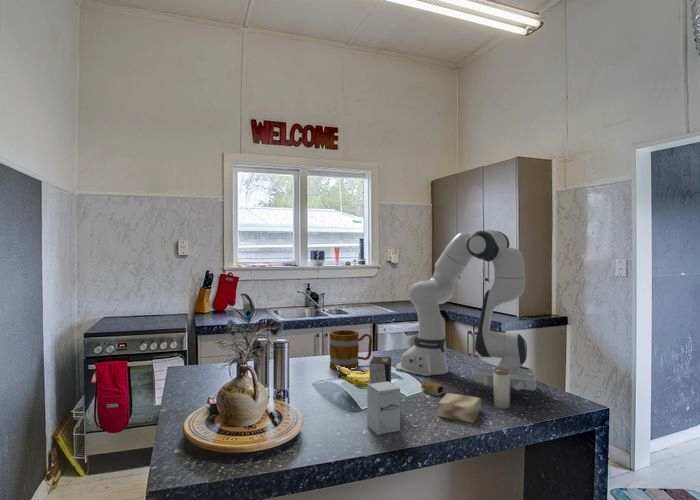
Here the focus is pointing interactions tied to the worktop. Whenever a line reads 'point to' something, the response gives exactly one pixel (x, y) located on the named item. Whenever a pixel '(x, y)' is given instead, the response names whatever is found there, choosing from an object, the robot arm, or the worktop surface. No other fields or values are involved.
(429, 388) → the pastry
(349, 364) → the mug
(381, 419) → the supplement box
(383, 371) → the coffee box
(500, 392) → the spice jar
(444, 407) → the riser
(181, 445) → the worktop surface
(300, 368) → the worktop surface
